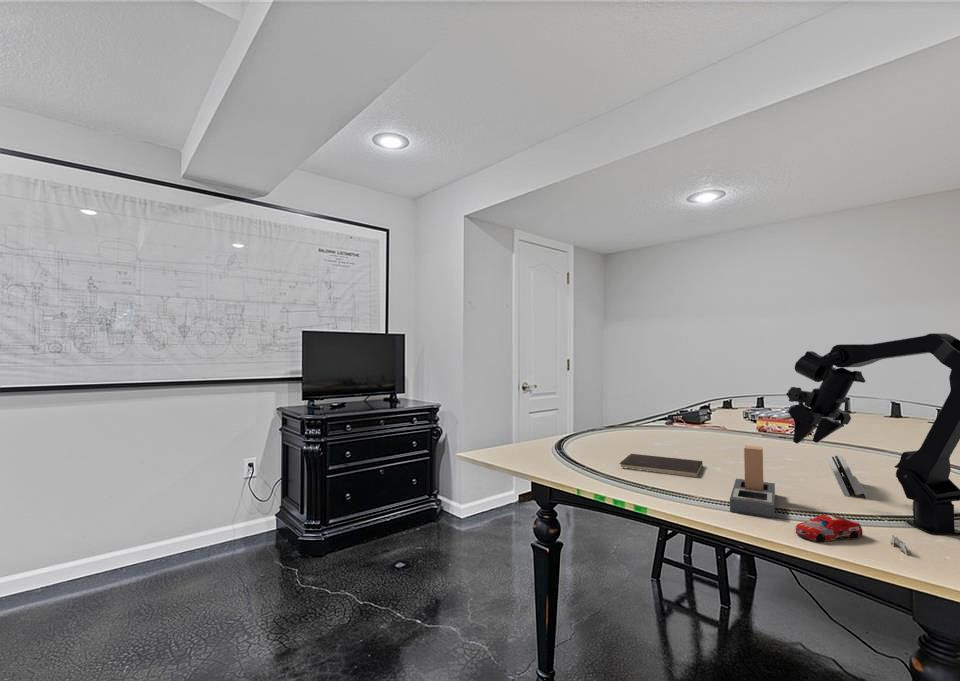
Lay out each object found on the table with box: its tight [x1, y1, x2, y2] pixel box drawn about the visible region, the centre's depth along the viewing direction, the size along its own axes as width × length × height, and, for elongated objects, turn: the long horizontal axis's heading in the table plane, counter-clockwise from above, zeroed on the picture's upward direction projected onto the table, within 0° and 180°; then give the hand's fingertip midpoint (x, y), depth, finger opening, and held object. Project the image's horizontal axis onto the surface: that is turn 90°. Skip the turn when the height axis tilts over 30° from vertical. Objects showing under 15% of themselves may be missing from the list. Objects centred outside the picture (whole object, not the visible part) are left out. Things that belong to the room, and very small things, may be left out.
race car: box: [795, 514, 863, 543], centre depth 96 cm, size 13×5×4 cm, turn 97°
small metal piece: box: [889, 534, 911, 556], centre depth 89 cm, size 6×2×3 cm, turn 160°
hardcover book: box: [619, 453, 703, 478], centre depth 152 cm, size 16×23×2 cm
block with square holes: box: [729, 478, 776, 519], centre depth 117 cm, size 20×9×3 cm, turn 147°
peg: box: [743, 444, 764, 490], centre depth 121 cm, size 4×4×13 cm
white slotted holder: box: [826, 454, 870, 500], centre depth 128 cm, size 17×5×10 cm, turn 148°
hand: (805, 442), depth 124 cm, fingers open, 9 cm apart
